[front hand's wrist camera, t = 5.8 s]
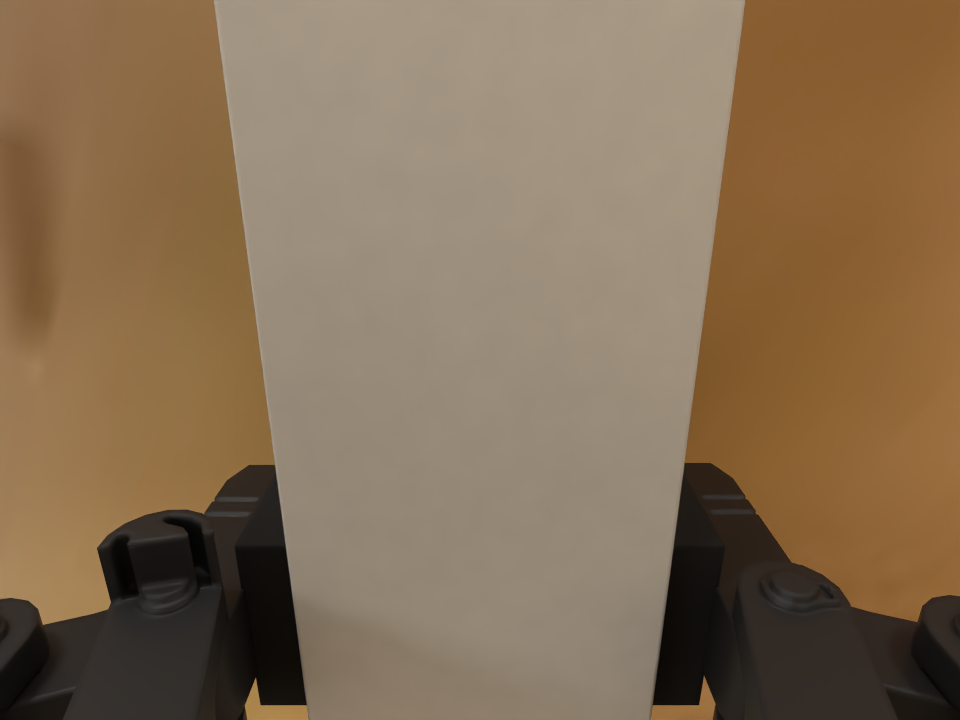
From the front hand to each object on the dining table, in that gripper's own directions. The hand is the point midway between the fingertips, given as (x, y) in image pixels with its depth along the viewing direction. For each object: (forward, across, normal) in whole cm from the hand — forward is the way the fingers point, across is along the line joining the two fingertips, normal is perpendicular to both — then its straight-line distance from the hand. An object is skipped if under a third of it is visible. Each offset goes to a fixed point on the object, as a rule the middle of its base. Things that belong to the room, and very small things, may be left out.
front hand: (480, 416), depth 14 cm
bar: (+1, 0, -31) cm, 31 cm away
